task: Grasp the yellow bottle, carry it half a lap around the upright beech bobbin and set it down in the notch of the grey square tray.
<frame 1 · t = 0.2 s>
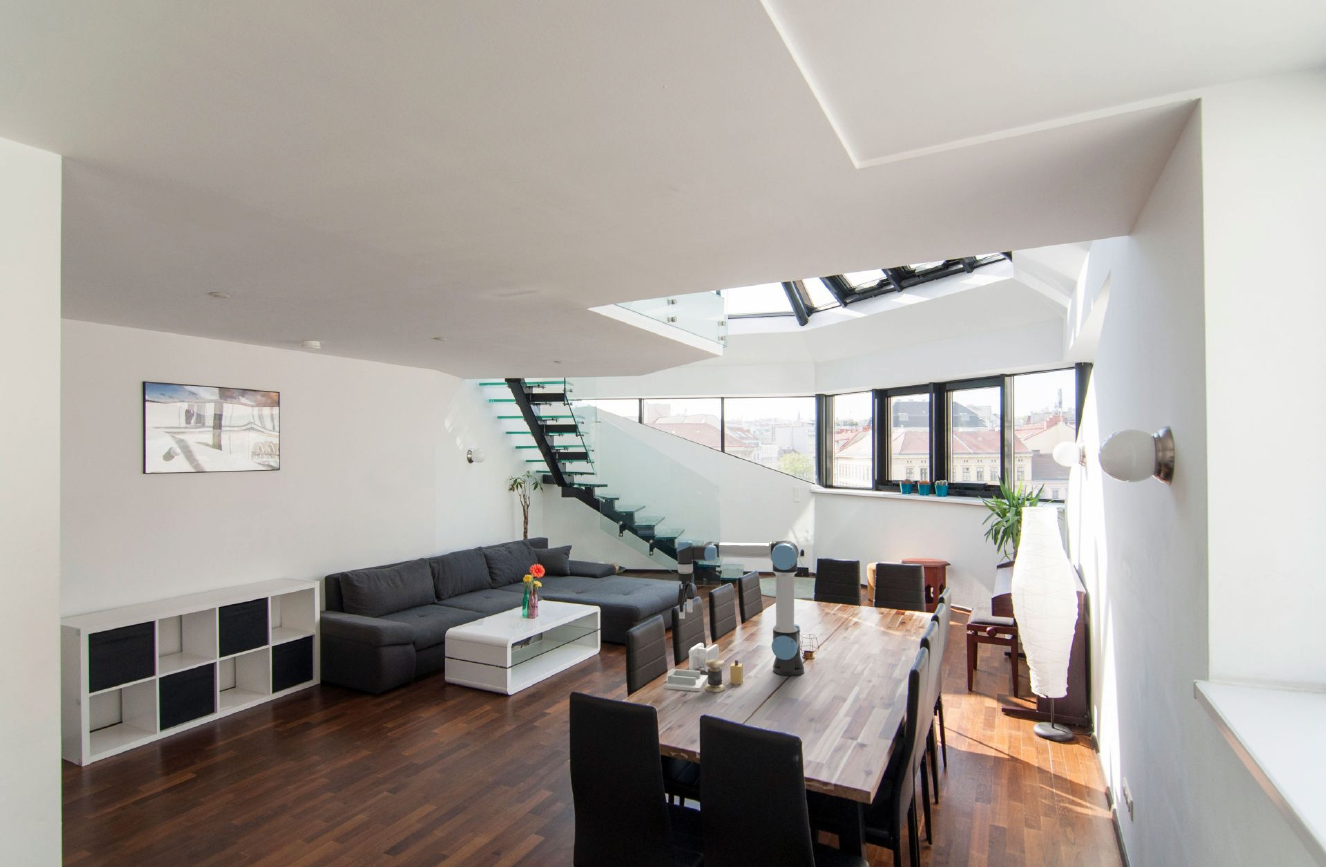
hand: (686, 615, 332), 28 cm above the table, fingers open, 13 cm apart
cable organizer: (703, 670, 334), on the table
yellow bottle: (736, 681, 315), on the table
grey square tray: (687, 683, 314), on the table
bobbin: (715, 688, 306), on the table
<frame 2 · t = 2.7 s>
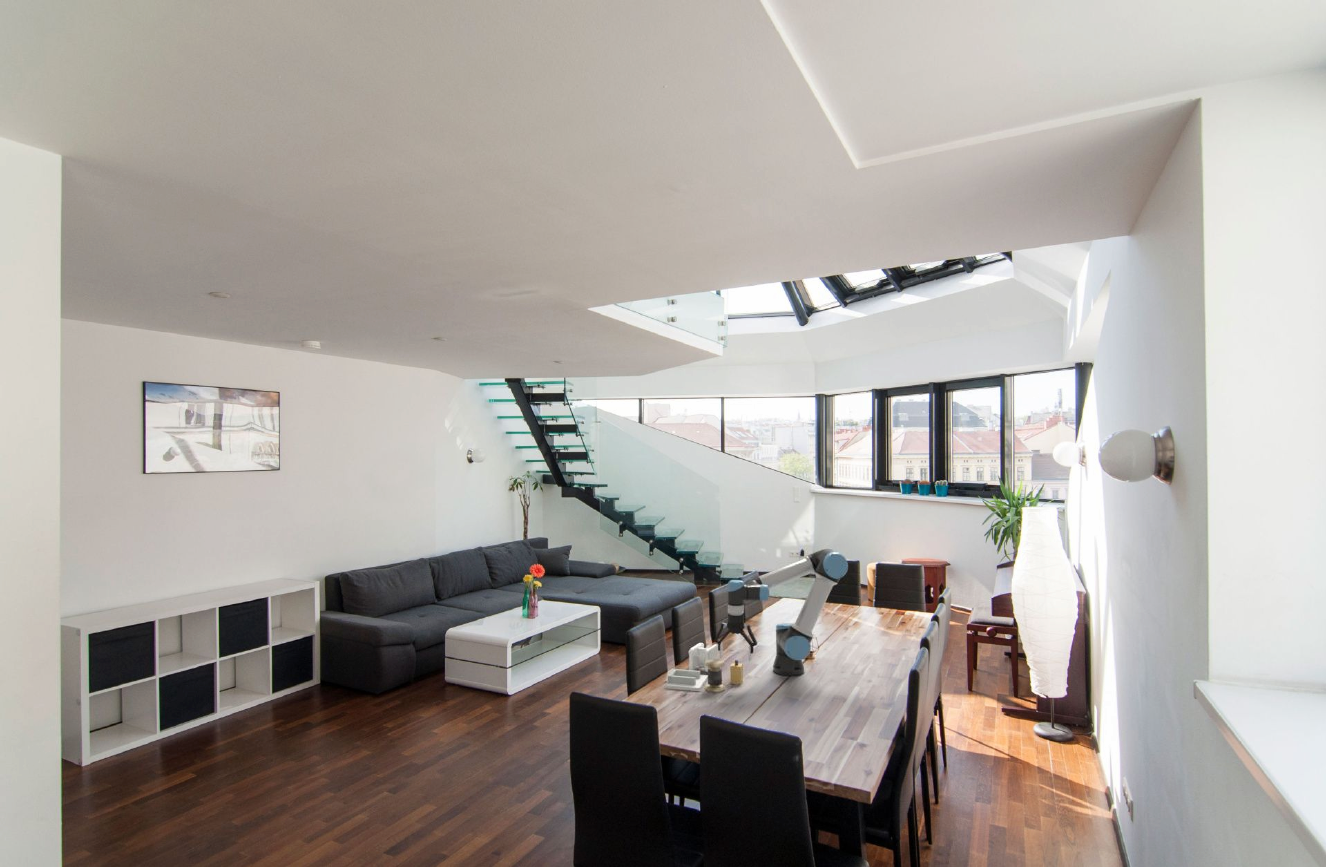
hand: (735, 659, 316), 11 cm above the table, fingers open, 13 cm apart
nothing on the table moved.
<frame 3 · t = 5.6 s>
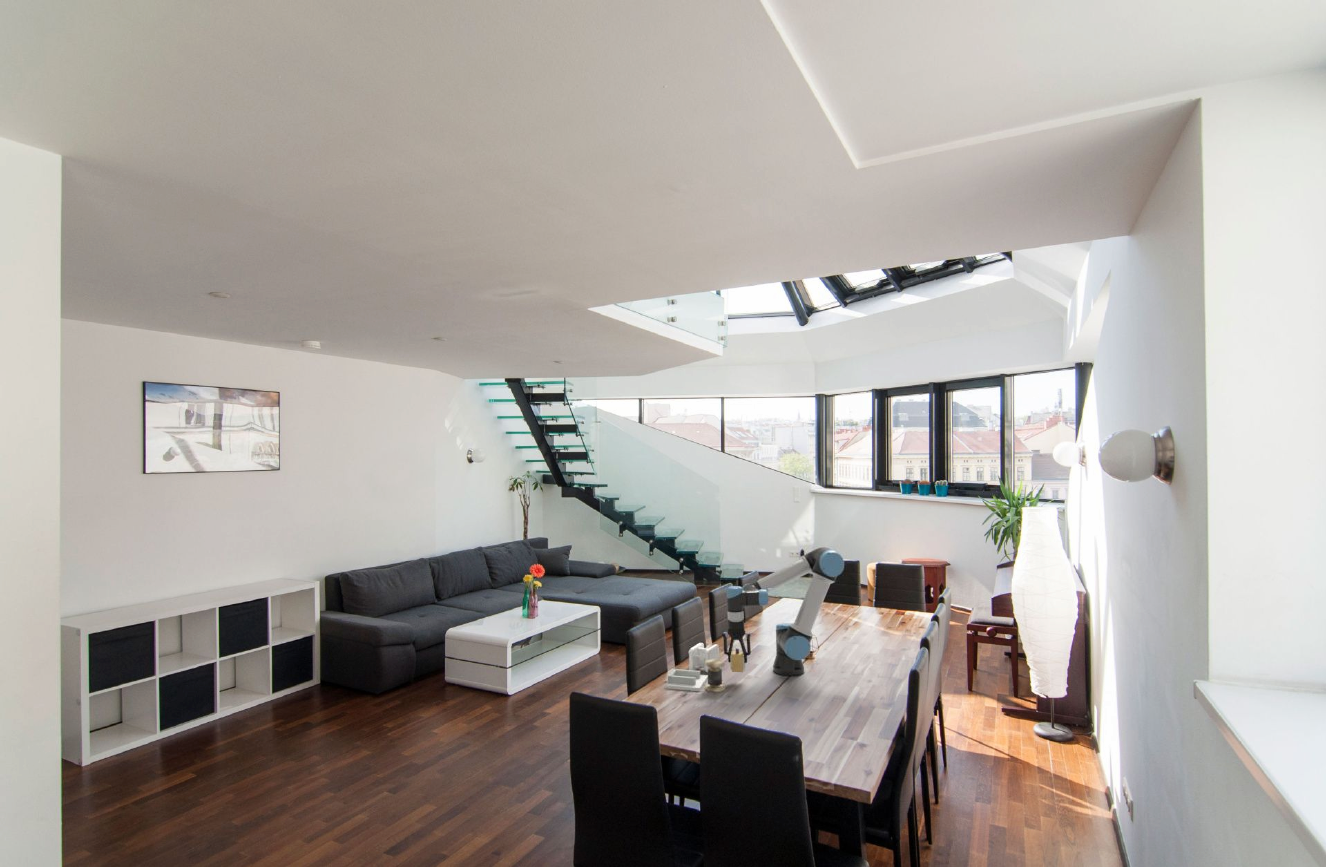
hand: (738, 669, 316), 6 cm above the table, fingers closed on yellow bottle, 5 cm apart
yellow bottle: (738, 670, 315), point 5 cm above the table, touching gripper
everything else where it was.
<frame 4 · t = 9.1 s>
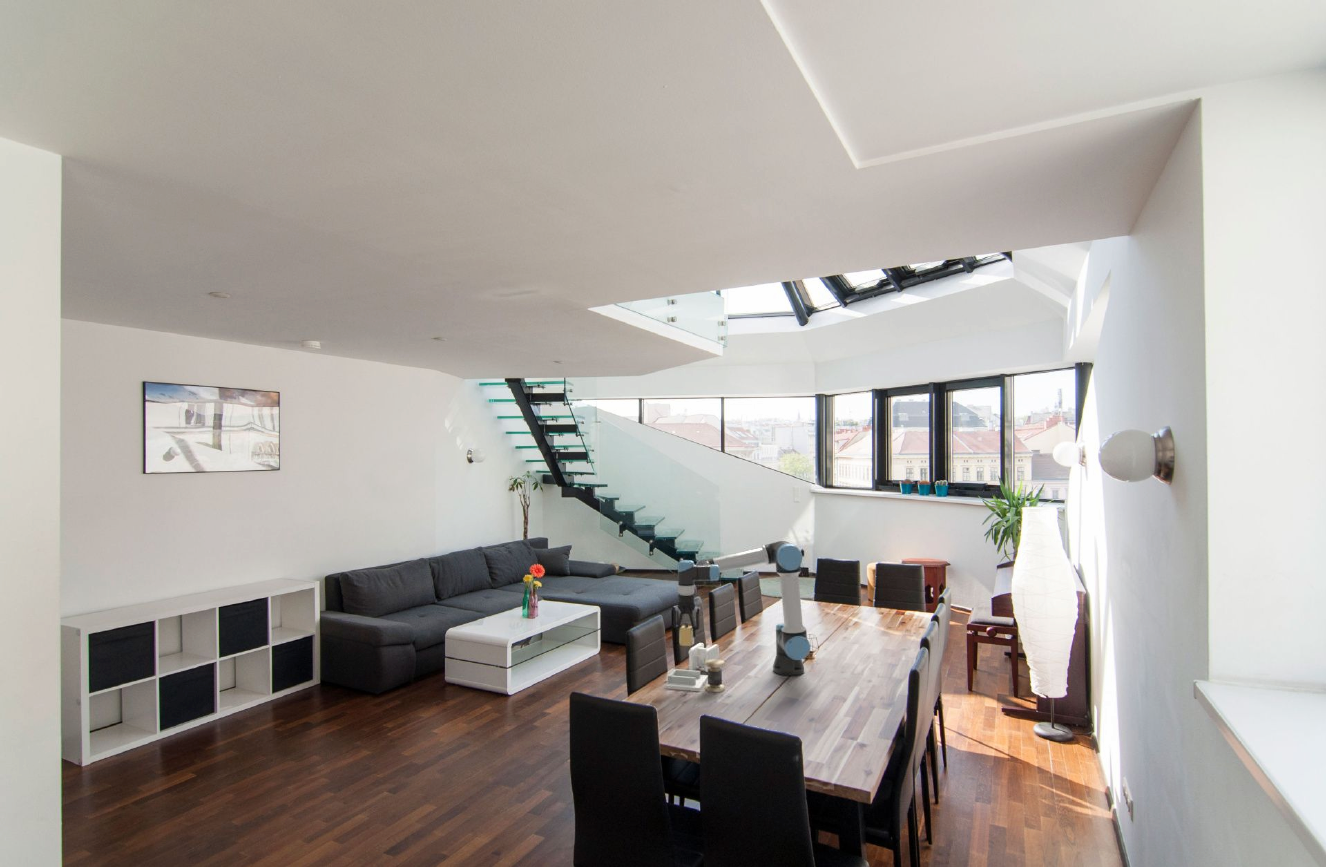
hand: (686, 643, 314), 19 cm above the table, fingers closed on yellow bottle, 5 cm apart
yellow bottle: (686, 644, 314), point 18 cm above the table, touching gripper
everything else where it was.
when the fingers open (3 cm above the table, at t = 12.5 s): yellow bottle stays where it is, resting on grey square tray.
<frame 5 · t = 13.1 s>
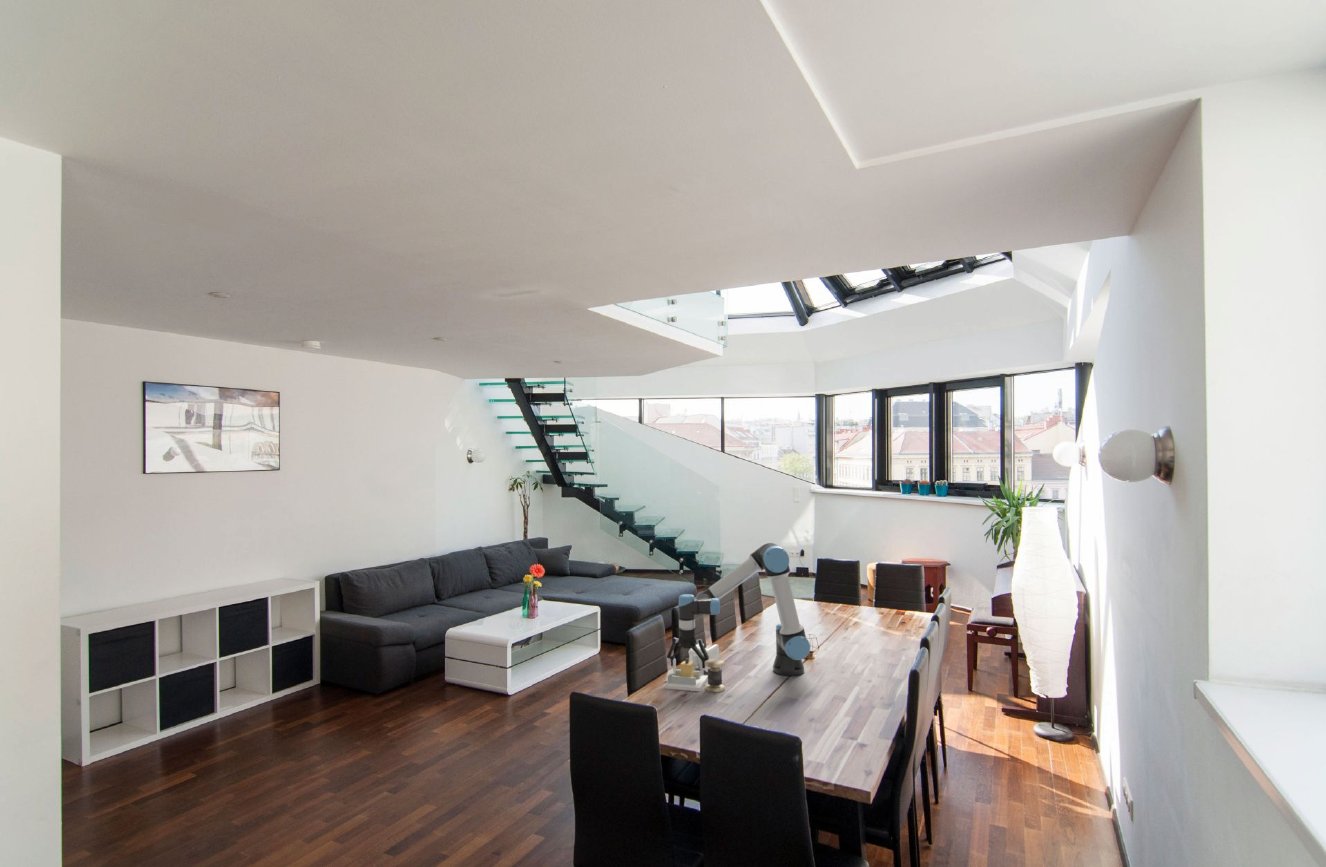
hand: (688, 674, 314), 4 cm above the table, fingers open, 12 cm apart
yellow bottle: (687, 680, 314), point 1 cm above the table, touching grey square tray
everything else where it was.
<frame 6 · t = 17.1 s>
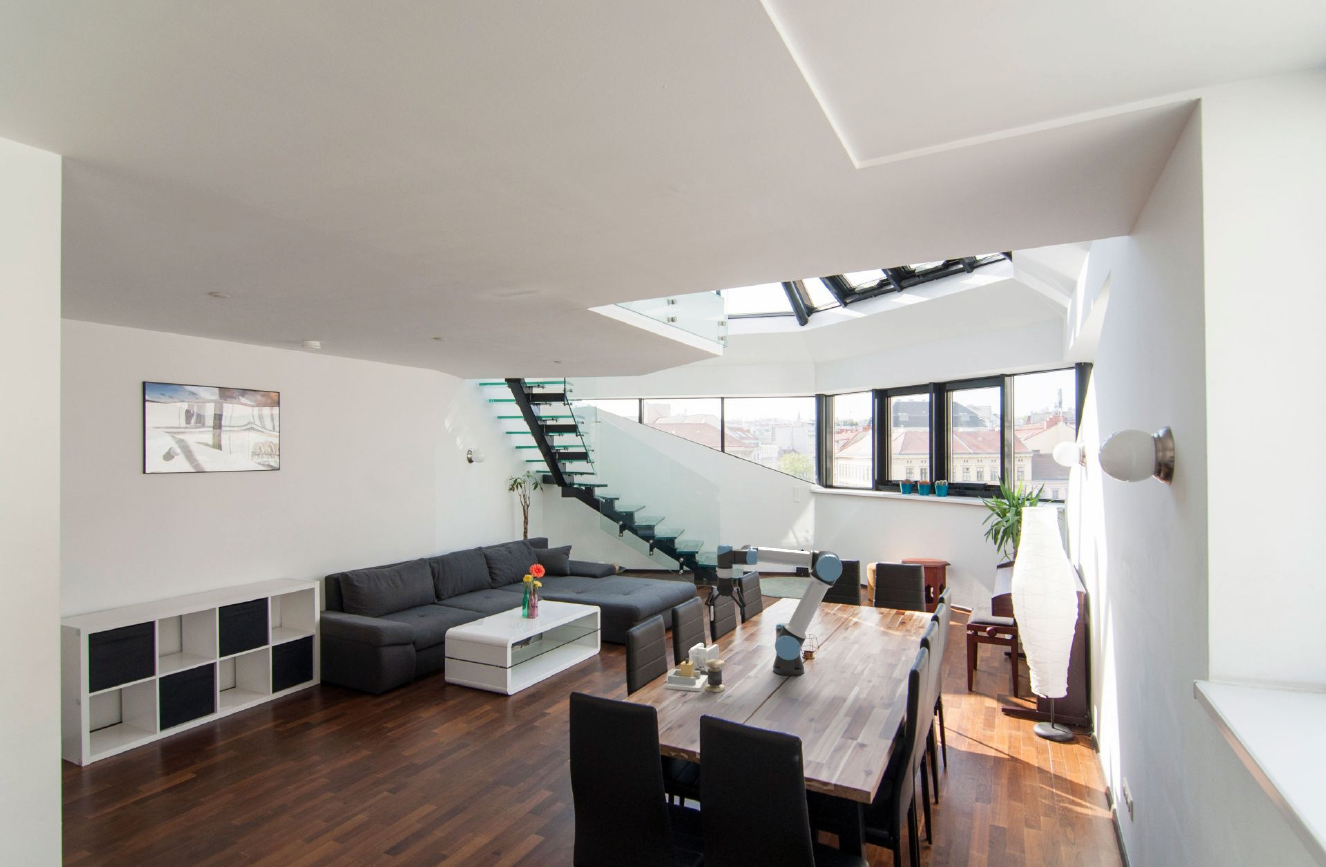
hand: (725, 620, 324), 27 cm above the table, fingers open, 13 cm apart
nothing on the table moved.
at the end: yellow bottle inside the target area on the grey square tray (0.5 cm from its centre), point 1.5 cm above the grey square tray's base; the gripper is holding nothing; yellow bottle tilted 0° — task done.
